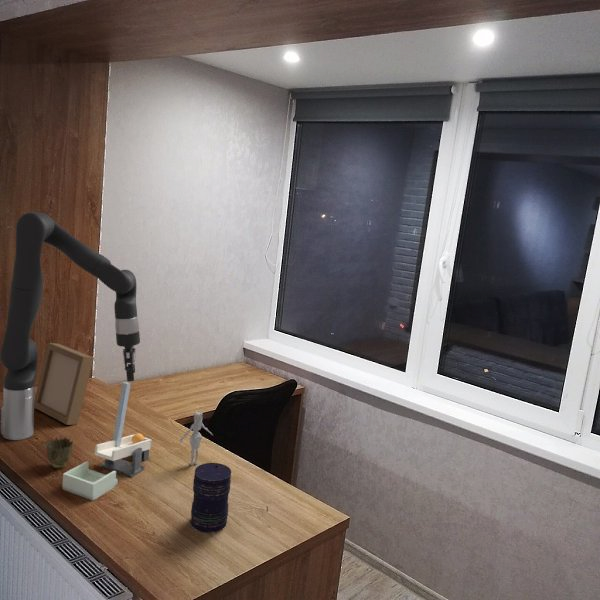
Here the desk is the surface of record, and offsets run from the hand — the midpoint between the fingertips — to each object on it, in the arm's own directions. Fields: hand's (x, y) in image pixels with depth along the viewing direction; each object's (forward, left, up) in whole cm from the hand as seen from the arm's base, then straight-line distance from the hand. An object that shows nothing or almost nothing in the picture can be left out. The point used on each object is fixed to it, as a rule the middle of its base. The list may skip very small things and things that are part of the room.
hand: (131, 376), depth 191 cm
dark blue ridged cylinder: (+49, -27, -23) cm, 61 cm away
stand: (+11, -13, -23) cm, 29 cm away
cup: (-5, -26, -23) cm, 35 cm away
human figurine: (+28, -2, -23) cm, 37 cm away
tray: (+11, -30, -23) cm, 39 cm away
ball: (+11, -9, -16) cm, 22 cm away
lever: (+11, -16, -17) cm, 26 cm away
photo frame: (-33, +6, -23) cm, 41 cm away
